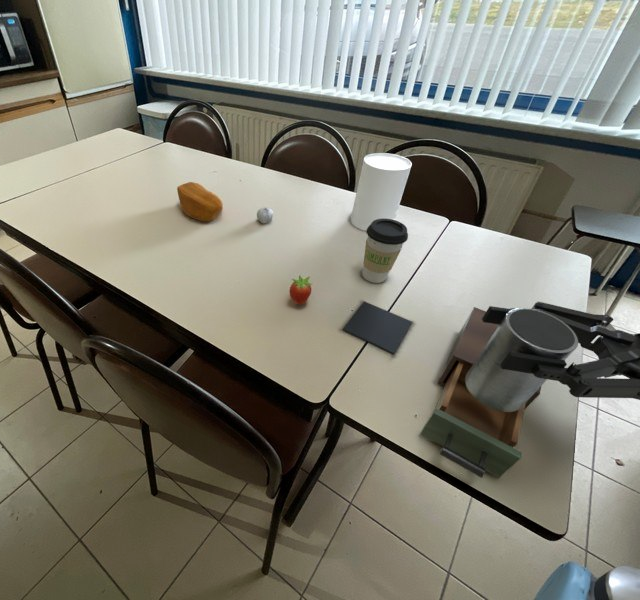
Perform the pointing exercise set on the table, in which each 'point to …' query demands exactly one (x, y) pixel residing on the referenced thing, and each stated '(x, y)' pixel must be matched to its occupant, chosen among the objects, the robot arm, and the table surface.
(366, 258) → the coffee cup
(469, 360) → the cabinet
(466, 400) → the drawer
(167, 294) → the table surface
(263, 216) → the garlic
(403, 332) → the mat
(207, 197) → the bread
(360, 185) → the canister
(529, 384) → the silver cylinder
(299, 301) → the fruit
